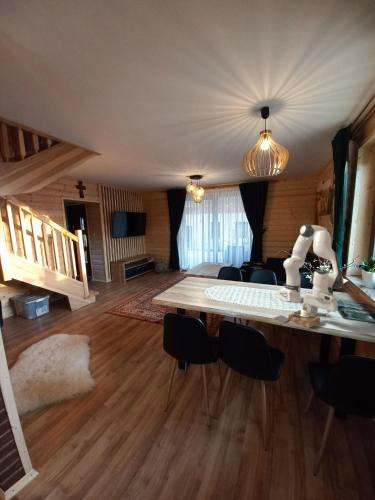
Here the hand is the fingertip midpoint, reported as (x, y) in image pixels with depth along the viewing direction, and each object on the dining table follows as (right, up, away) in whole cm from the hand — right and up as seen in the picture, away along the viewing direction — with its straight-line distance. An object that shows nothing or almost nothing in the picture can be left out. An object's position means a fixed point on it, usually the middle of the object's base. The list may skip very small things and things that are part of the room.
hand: (318, 313), depth 137 cm
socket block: (-9, -6, +3) cm, 11 cm away
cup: (+3, -5, +16) cm, 17 cm away
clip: (-10, -1, +5) cm, 11 cm away
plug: (-9, -6, +3) cm, 11 cm away
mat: (-22, -6, +7) cm, 23 cm away
